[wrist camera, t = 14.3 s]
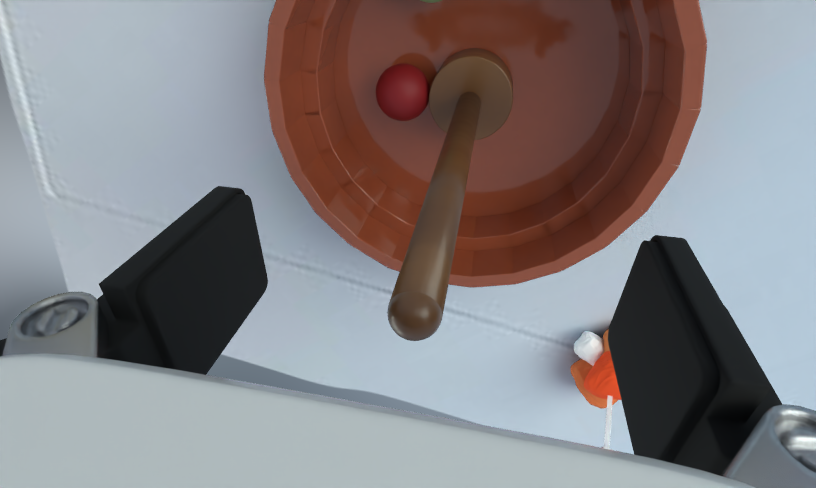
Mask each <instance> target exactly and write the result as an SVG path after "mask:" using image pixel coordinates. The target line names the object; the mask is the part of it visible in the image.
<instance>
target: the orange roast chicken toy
mask: <svg viewBox="0 0 816 488" xmlns="http://www.w3.org/2000/svg"><path fill="white" fill-rule="evenodd" d="M608 331H609V329H608V330H606V331H605V333H604V335H603V339H604V340H602V339H601V338H600V337H599V336H598V335H596V334H594V333H592V332H589V331H584V332H583V333H582V335H581V337H580V338H579V339H578V340H577V341H576V342H575V343H574V351H575V353H576V354H577V355H578V356H579V357H580V358H581V359H580V360H578V361H577V362H575V363H574V364H573V365H572V366H571V374H572V376H573V377H574V380H575V382H576V386H577V388H578V389H579V391H580V392H581V393H582V395H583V396H584V397H585V398H586V400H587V401H588V402H589V403H590V404H591V405H594V406H597V407H599V408H606V407H607V412H606V425H605V438H604V447H601V448H604V449H609V450H612V449H610V434H611V416H612V405H613V404H614V403H615V402H617V401H618V400H621V395H620V391H619V387H618V383H617V378H616V374H615V370H614V366H613V361H612V357H611V353H610V349H609V344H608Z"/></svg>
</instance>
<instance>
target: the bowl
mask: <svg viewBox="0 0 816 488" xmlns="http://www.w3.org/2000/svg"><path fill="white" fill-rule="evenodd" d="M706 43H707V39H706V34H705V29H704V24H703V19H702V14H701V10H700V5H699V0H442V1H439V2H435V3H428V2H423V1H420V0H276V2H275V5H274V8H273V11H272V13H271V16H270V19H269V25H268V37H267V48H266V60H265V71H264V83H265V89H266V96H267V102H268V109H269V115H270V122H271V128H272V132H273V134H274V137H275V139H276V142H277V144H278V147H279V149H280V152H281V154H282V157H283V159H284V162H285V164H286V166H287V169H288V171H289V174H290V175H291V178H292V179H293V181H294V182H295V184H296V185H297V187H298V188H299V189H300V191H301V192H302V194H303V195H304V197H305V198H306V200H307V201H308V202H309V204H310V205H311V207H312V208H313V210H314V211H315V213H316V214H317V215H318V216H319V217H320V218H321V219H322V220H324V221H325V222H326V223H327V224H328V225H329V226H330V227H331V228H332V229H333V230H334V231H335V232H336V233H337V234H339V235H340V236H341V237H342V238H343V239H344V240H345V241H346V242H347V243H348V244H350V245H351V246H353V247H354V248H356V249H358V250H359V251H361V252H363V253H364V254H366V255H368V256H369V257H371V258H373V259H374V260H376V261H378V262H379V263H381V264H383V265H384V266H386V267H387V268H390V269H393V270H396V271H399V272H400V270H401V267H402V264H403V261H404V258H405V255H406V252H407V249H408V246H409V243H410V240H411V238H412V235H413V232H414V229H415V226H416V223H417V220H418V217H419V214H420V211H421V208H422V205H423V202H424V199H425V196H426V193H427V190H428V187H429V185H430V182H431V179H432V176H433V173H434V170H435V167H436V164H437V161H438V158H439V155H440V152H441V149H442V146H443V143H444V140H445V137H446V134H447V133H445V132H444V131H443V130H442V129H441V128H440V127H439V126H438V125H437V124H436V122H435V120H434V119H433V117H432V114H431V111H430V107H429V102H428V105H427V107H426V109H425V110H424V111H423V112H422V113H421V114H420V115H419V116H418V117H416V118H414V119H412V120H408V121H398V120H395V119H392V118H390V117H388V116H387V115H386V114H385V113H384V112H383V111H382V110H381V109H380V107H379V105H378V103H377V99H376V85H377V82H378V79H379V77H380V76H381V74H382V73H383V72H384V71H385V70H386V69H387V68H389V67H390V66H392V65H395V64H400V63H406V64H411V65H413V66H415V67H417V68H418V69H420V70H421V71H422V72H423V73H424V74H425V76H426V78H427V80H428V82H429V85H430V87H431V84H432V82H433V80H434V78H435V76H436V74H437V73H438V71H439V69H440V67H441V66H442V65H443V63H444V62H445V61H446V60H447V59H448V58H449V57H451V56H452V55H454V54H455V53H457V52H459V51H462V50H465V49H471V48H479V49H484V50H488V51H490V52H492V53H494V54H496V55H497V56H498V57H499V58H501V59H502V60H503V62H504V63H505V64H506V66H507V67H508V69H509V71H510V74H511V77H512V82H513V104H512V109H511V112H510V114H509V116H508V118H507V120H506V122H505V123H504V124H503V125H502V127H501V128H500V129H499V130H497V131H496V132H495V133H493V134H492V135H490V136H488V137H486V138H483V139H479V140H474V146H473V151H472V157H471V162H470V168H469V173H468V179H467V184H466V189H465V195H464V200H463V206H462V211H461V217H460V222H459V228H458V233H457V239H456V244H455V250H454V255H453V261H452V266H451V272H450V277H449V283H448V284H449V285H457V286H464V287H484V286H498V285H512V284H516V283H517V284H518V283H522V282H525V281H529V280H532V279H536V278H539V277H543V276H546V275H550V274H553V273H557V272H560V271H561V270H565V269H566V268H568V267H570V266H572V265H574V264H576V263H578V262H579V261H581V260H583V259H585V258H587V257H589V256H591V255H592V254H594V253H596V252H598V251H600V250H602V249H603V248H605V247H607V246H608V245H609V244H610V243H611V242H612V241H614V240H615V239H616V238H617V237H618V236H619V235H620V234H622V233H623V232H624V231H625V230H626V229H627V228H629V227H630V226H631V225H632V224H633V223H634V222H635V221H637V220H638V219H639V218H640V217H641V216H642V215H643V214H645V212H647V210H648V209H649V208H650V206H651V205H652V203H653V202H654V201H655V199H656V198H657V196H658V195H659V194H660V192H661V191H662V189H663V188H664V187H665V185H666V184H667V182H668V181H669V180H670V178H671V177H672V175H673V174H674V173H675V171H676V170H677V168H678V167H679V166H678V165H680V162H681V159H682V157H683V154H684V152H685V149H686V146H687V144H688V141H689V139H690V136H691V133H692V131H693V128H694V126H695V123H696V120H697V118H698V115H699V113H700V108H701V104H702V93H703V82H704V72H705V61H706V51H707V44H706Z"/></svg>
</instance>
